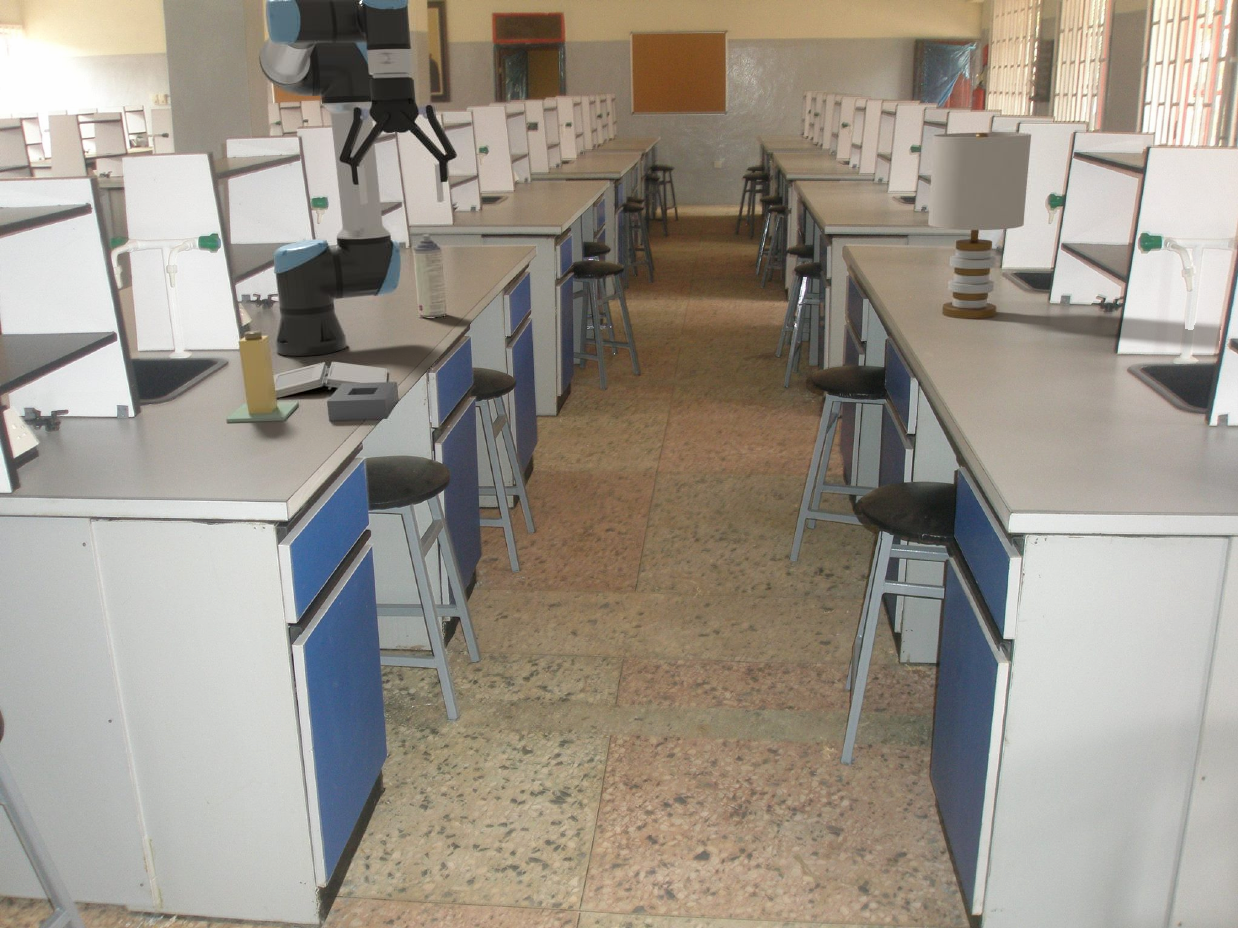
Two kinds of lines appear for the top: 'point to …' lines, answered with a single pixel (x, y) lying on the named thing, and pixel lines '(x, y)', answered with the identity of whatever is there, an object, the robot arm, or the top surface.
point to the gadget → (317, 377)
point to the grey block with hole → (363, 401)
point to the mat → (277, 415)
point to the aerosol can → (429, 278)
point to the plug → (258, 373)
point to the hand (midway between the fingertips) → (402, 202)
